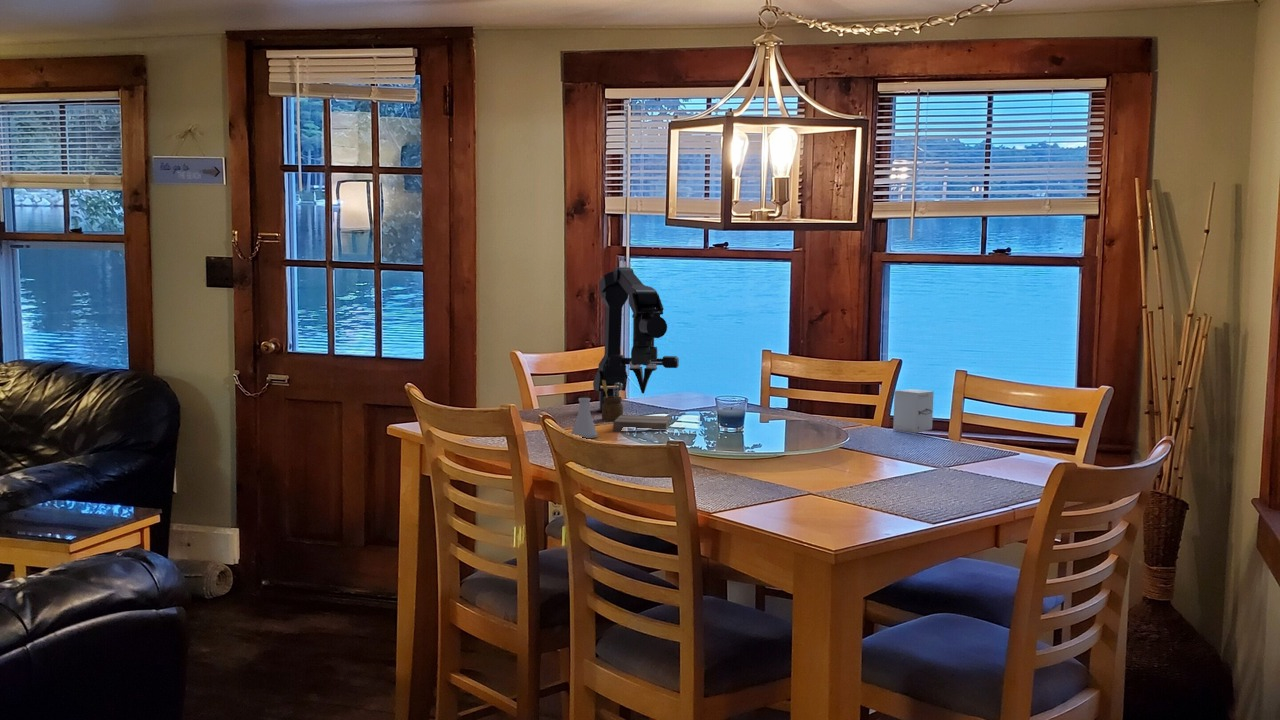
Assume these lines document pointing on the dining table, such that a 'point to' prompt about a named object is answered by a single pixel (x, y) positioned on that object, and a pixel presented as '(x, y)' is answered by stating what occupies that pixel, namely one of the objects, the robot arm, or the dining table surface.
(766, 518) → the dining table surface
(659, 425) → the walnut plinth
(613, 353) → the robot arm
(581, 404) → the flask
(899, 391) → the supplement box
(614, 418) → the utensil holder
